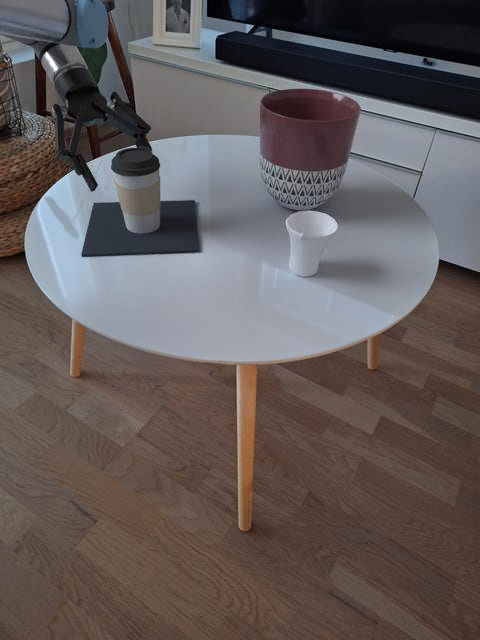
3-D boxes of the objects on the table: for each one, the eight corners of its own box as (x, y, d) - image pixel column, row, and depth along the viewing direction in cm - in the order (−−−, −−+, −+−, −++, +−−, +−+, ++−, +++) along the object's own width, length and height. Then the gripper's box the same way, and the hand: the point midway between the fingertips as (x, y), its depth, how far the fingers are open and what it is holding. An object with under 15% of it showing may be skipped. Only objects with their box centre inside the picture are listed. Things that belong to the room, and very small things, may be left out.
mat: (81, 256, 86) (81, 254, 86) (94, 204, 101) (93, 202, 100) (199, 252, 89) (199, 250, 88) (195, 202, 103) (194, 200, 103)
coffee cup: (144, 241, 90) (135, 167, 80) (110, 226, 93) (98, 154, 83) (174, 222, 95) (169, 150, 85) (141, 209, 99) (133, 139, 89)
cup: (271, 274, 84) (276, 226, 77) (293, 250, 90) (300, 203, 83) (316, 291, 81) (325, 242, 74) (336, 265, 87) (346, 218, 80)
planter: (237, 198, 105) (240, 98, 91) (298, 177, 114) (310, 83, 100) (296, 235, 94) (310, 128, 80) (359, 208, 103) (381, 108, 89)
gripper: (121, 78, 99) (169, 169, 101) (5, 101, 85) (63, 205, 88) (132, 55, 92) (183, 153, 94) (9, 76, 79) (71, 189, 81)
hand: (125, 178), depth 91 cm, fingers open, 13 cm apart
